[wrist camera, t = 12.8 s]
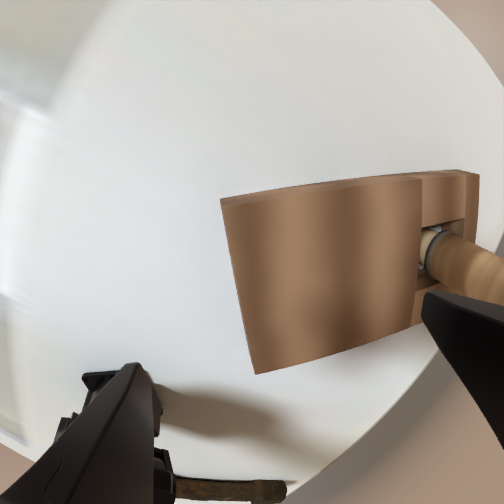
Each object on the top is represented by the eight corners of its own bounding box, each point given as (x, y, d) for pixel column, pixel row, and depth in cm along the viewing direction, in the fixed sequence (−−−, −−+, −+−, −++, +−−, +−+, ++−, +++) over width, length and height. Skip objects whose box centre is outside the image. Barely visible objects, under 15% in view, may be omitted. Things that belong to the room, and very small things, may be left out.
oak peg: (396, 259, 23) (500, 333, 12) (414, 213, 22) (530, 268, 10) (425, 269, 24) (518, 336, 13) (441, 228, 23) (543, 281, 11)
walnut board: (249, 351, 24) (255, 374, 21) (219, 198, 19) (222, 207, 16) (446, 290, 26) (464, 302, 23) (456, 169, 21) (479, 174, 18)
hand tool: (164, 480, 31) (164, 504, 27) (167, 471, 30) (168, 497, 26) (276, 485, 36) (282, 506, 32) (286, 476, 35) (293, 498, 31)
